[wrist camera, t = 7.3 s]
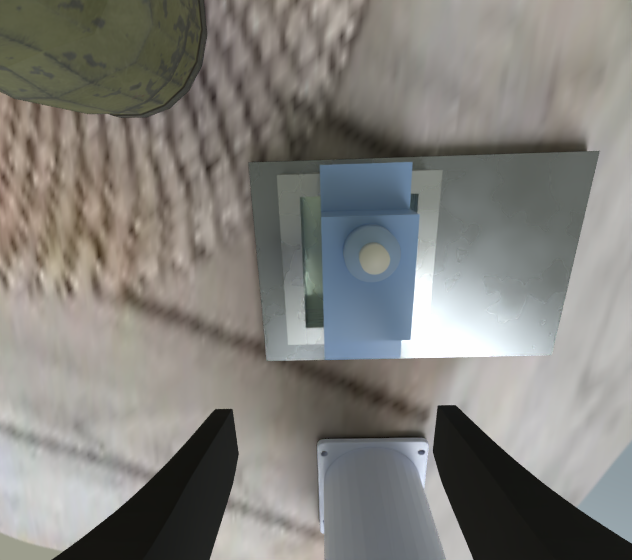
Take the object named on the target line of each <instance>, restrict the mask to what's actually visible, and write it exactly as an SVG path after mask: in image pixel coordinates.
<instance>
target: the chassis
mask: <svg viewBox="0 0 632 560" xmlns="http://www.w3.org/2000/svg"><path fill="white" fill-rule="evenodd" d="M598 156H599V151H583V152H553V153H522V154H491V155H461V156H430V157H400V158H369V159H338V160H308V161H277V162H248V164H249V175H250V186H251V197H252V207H253V218H254V229H255V240H256V251H257V261H258V272H259V283H260V294H261V305H262V316H263V326H264V337H265V348H266V359H267V361H289V360H325V349H324V312H323V273H322V235H321V195H320V165H333V164H363V163H393V162H413V164H412V180H411V197H410V209H411V210H413V211H414V212H416V213H418V214H420V219H419V233H418V247H417V261H416V275H415V289H414V303H413V317H412V331H411V340H402V344H401V358H437V357H486V356H536V355H552V352H553V347H554V343H555V339H556V335H557V330H558V326H559V322H560V318H561V313H562V309H563V305H564V301H565V296H566V292H567V288H568V284H569V279H570V275H571V271H572V266H573V262H574V258H575V254H576V249H577V245H578V241H579V237H580V232H581V228H582V224H583V220H584V215H585V211H586V207H587V203H588V198H589V194H590V190H591V186H592V181H593V177H594V173H595V169H596V164H597V160H598Z"/></svg>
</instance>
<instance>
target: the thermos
mask: <svg viewBox="0 0 632 560" xmlns="http://www.w3.org/2000/svg"><path fill="white" fill-rule="evenodd" d="M206 39H207V28H206V18H205V8H204V0H0V92H2V93H4V94H6V95H8V96H10V97H12V98H14V99H18V100H23V101H28V102H33V103H38V104H42V105H47V106H52V107H57V108H62V109H66V110H71V111H76V112H81V113H86V114H110V115H113V116H116V117H121V118H130V117H149V116H151V115H154V114H156V113H159V112H162V111H164V110H167V109H169V108H171V107H172V106H173V105H174V104H175V103H176V102H177V101H178V100H179V99H180V98H181V97H183V96H184V95H185V94H186V93H187V92H188V91H189V90H190V88H191V86H192V84H193V82H194V80H195V78H196V76H197V74H198V72H199V70H200V68H201V66H202V62H203V56H204V50H205V44H206Z"/></svg>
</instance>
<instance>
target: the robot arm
mask: <svg viewBox="0 0 632 560" xmlns="http://www.w3.org/2000/svg"><path fill="white" fill-rule="evenodd" d="M421 449H422V450H421ZM428 449H429V444H428V442H427V440H426V439H425V438H365V439H322V440H319V441H318V443H317V460H318V487H319V513H320V531H321V532H322V533H323V534H324V553H325V560H446V558H445V554H444V551H443V548H442V545H441V542H440V539H439V536H438V532H437V529H436V526H435V523H434V520H433V517H432V513H431V510H430V507H429V504H428V501H427V498H426V495H425V491H424V487H425V478H426V468H427V459H428ZM419 450H421V451H419ZM322 451H326V452H322ZM433 454H434V457H435V461H436V465H437V468H438V472H439V475H440V478H441V482H442V484H443V487H444V489H445V492H446V494H447V497H448V499H449V501H450V504H451V506H452V509H453V511H454V514H455V516H456V518H457V521H458V523H459V526H460V528H461V530H462V533H463V535H464V538H465V540H466V542H467V545H468V547H469V550H470V552H471V554H472V557H473V560H632V543H630V542H628V541H627V540H625V539H623V538H622V537H620V536H619V535H617V534H615V533H614V532H612V531H611V530H609V529H608V528H606V527H605V526H603V525H601V524H600V523H599V522H597V521H595V520H594V519H592V518H591V517H589V516H588V515H586V514H585V513H584V512H582V511H580V510H579V509H578V508H576V507H575V506H573V505H572V504H571V503H569V502H568V501H567V500H565V499H564V498H562V497H561V496H560V495H558V494H557V493H556V492H554V491H553V490H552V489H550V488H549V487H548V486H546V485H545V484H544V483H542V482H541V481H540V480H539V479H537V478H536V477H535V476H534V475H532V474H531V473H530V472H529V471H528V470H526V469H525V468H524V467H523V466H521V465H520V464H519V463H518V462H517V461H515V460H514V459H513V458H512V457H511V456H510V455H509V454H507V453H506V452H505V451H504V450H503V449H502V448H501V447H500V446H498V445H497V444H496V443H495V442H494V441H493V440H492V439H491V438H490V437H489V436H487V435H486V434H485V433H484V432H483V431H482V430H481V429H480V428H479V427H478V426H477V425H476V424H475V423H474V422H473V421H472V420H471V419H470V418H468V417H467V416H466V415H465V414H464V413H463V412H462V411H461V410H460V409H459V408H458V407H457V406H456V405H441V406H438V409H437V418H436V427H435V436H434V445H433ZM238 455H239V453H238V446H237V438H236V431H235V424H234V417H233V409H215V410H214V411H213V412H212V413H211V414H210V416H209V417H208V418H207V419H206V420H205V421H204V423H203V424H202V425H201V426H200V427H199V428H198V430H197V431H196V432H195V433H194V434H193V435H192V436H191V438H190V439H189V440H188V441H187V442H186V443H185V444H184V445H183V446H182V448H181V449H180V450H179V451H178V452H177V453H176V454H175V455H174V456H173V457H172V458H171V459H170V461H169V462H168V463H167V464H166V465H165V466H164V467H163V468H162V469H161V470H160V471H159V472H158V473H157V474H156V475H155V476H154V477H153V478H152V479H151V480H150V481H149V482H148V483H147V484H146V485H145V486H143V487H142V488H141V489H140V490H139V491H138V492H137V493H136V494H135V495H134V496H133V497H132V498H130V499H129V500H128V501H127V502H126V503H125V504H124V505H122V506H121V507H120V508H119V509H118V510H117V511H115V512H114V513H113V514H112V515H110V516H109V517H108V518H107V519H105V520H104V521H103V522H102V523H100V524H99V525H98V526H96V527H95V528H94V529H93V530H91V531H90V532H89V533H88V534H86V535H85V536H84V537H83V538H81V539H80V540H79V541H77V542H76V543H74V544H73V545H72V546H70V547H69V548H68V549H66V550H65V551H63V552H62V553H61V554H59V555H58V556H57V557H55V558H54V559H52V560H210V556H211V553H212V550H213V547H214V543H215V540H216V537H217V534H218V531H219V527H220V524H221V521H222V518H223V515H224V511H225V508H226V505H227V502H228V498H229V495H230V492H231V489H232V485H233V481H234V476H235V471H236V465H237V460H238Z"/></svg>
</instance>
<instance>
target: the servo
mask: <svg viewBox="0 0 632 560" xmlns="http://www.w3.org/2000/svg"><path fill="white" fill-rule="evenodd" d="M412 164H413V162H393V163H363V164H333V165H320V195H321V235H322V273H323V312H324V349H325V360H348V359H396V358H401V344H402V340H411V331H412V317H413V303H414V289H415V275H416V261H417V247H418V233H419V219H420V214H418V213H416V212H414V211H413V210H411V209H410V197H411V180H412Z"/></svg>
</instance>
